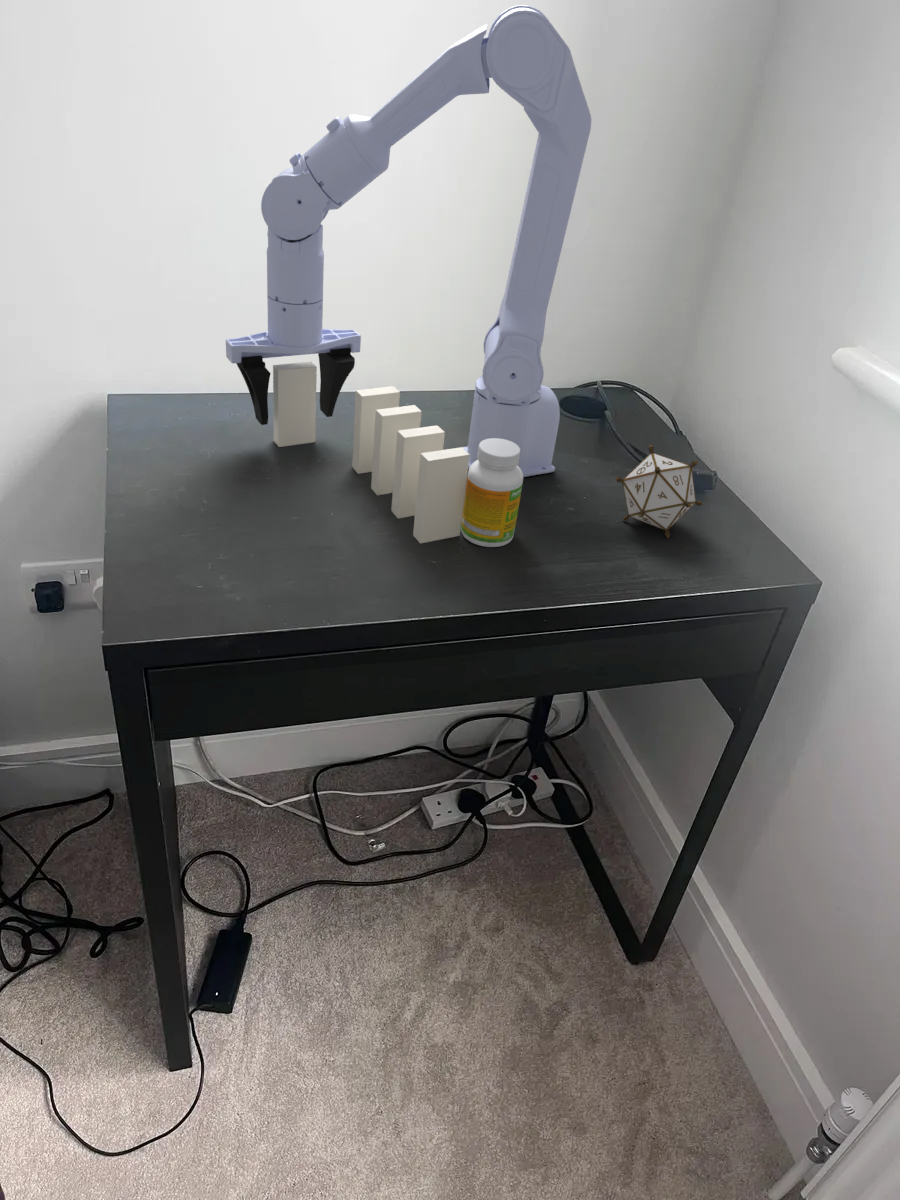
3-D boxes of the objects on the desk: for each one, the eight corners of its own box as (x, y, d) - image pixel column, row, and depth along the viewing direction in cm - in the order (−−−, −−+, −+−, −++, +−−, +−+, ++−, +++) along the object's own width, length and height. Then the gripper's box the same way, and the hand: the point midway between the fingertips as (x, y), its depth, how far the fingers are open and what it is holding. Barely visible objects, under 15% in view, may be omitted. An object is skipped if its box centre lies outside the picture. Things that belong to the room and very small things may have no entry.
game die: (642, 563, 98) (637, 520, 89) (606, 502, 102) (596, 456, 93) (718, 524, 98) (720, 478, 89) (678, 465, 101) (676, 415, 92)
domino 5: (451, 527, 93) (461, 447, 87) (459, 535, 92) (469, 454, 86) (412, 535, 91) (420, 453, 85) (420, 543, 90) (428, 460, 84)
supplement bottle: (509, 553, 90) (523, 464, 84) (455, 542, 90) (466, 453, 85) (516, 526, 94) (531, 440, 89) (465, 516, 95) (477, 430, 89)
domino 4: (429, 504, 96) (437, 425, 91) (436, 511, 95) (444, 432, 90) (391, 510, 94) (397, 430, 89) (398, 518, 93) (404, 437, 88)
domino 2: (388, 461, 103) (393, 386, 98) (394, 468, 102) (400, 391, 97) (352, 467, 101) (355, 390, 96) (358, 473, 100) (361, 396, 95)
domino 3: (408, 482, 99) (414, 405, 94) (414, 489, 98) (421, 411, 93) (371, 488, 98) (375, 409, 92) (377, 495, 96) (382, 416, 91)
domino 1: (310, 436, 106) (311, 361, 101) (315, 442, 105) (316, 366, 100) (273, 440, 104) (273, 365, 99) (278, 447, 103) (278, 370, 98)
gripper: (344, 280, 101) (340, 396, 109) (214, 287, 95) (220, 409, 102) (371, 301, 96) (364, 420, 104) (236, 309, 90) (240, 436, 98)
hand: (294, 417), depth 103 cm, fingers open, 7 cm apart
